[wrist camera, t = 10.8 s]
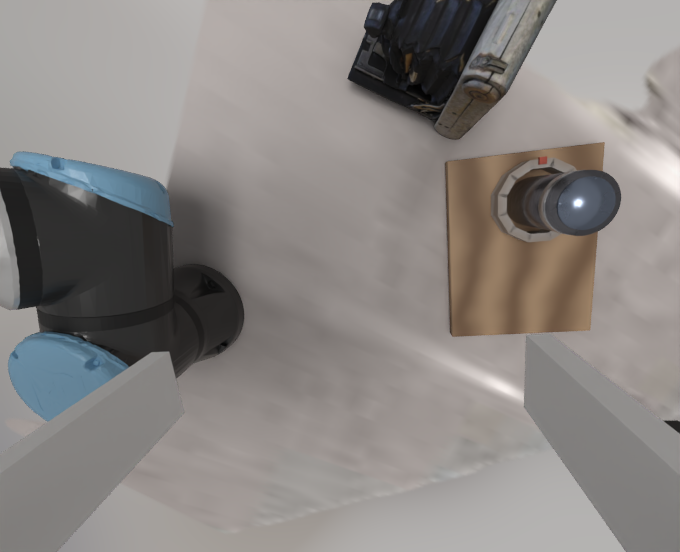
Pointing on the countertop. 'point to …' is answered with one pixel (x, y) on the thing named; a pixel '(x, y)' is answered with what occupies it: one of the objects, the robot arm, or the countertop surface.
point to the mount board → (515, 249)
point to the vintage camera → (447, 55)
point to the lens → (565, 202)
